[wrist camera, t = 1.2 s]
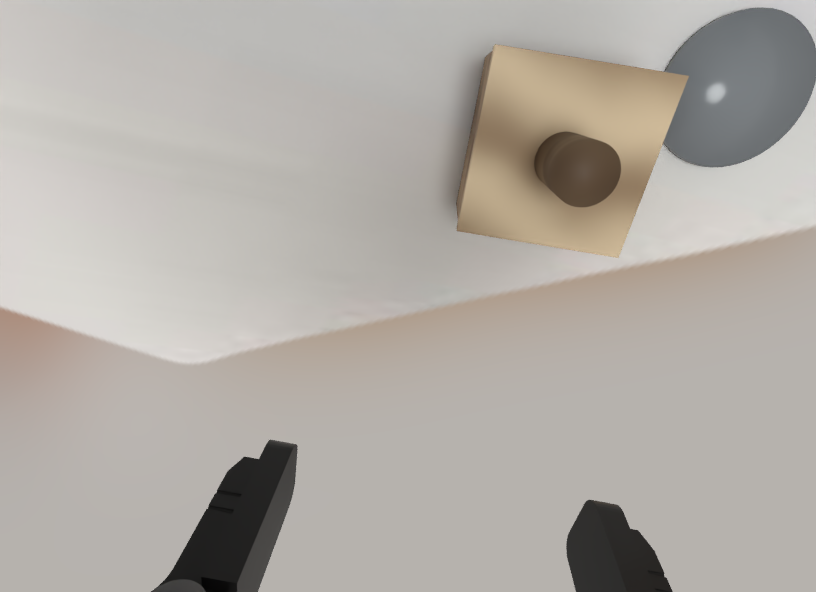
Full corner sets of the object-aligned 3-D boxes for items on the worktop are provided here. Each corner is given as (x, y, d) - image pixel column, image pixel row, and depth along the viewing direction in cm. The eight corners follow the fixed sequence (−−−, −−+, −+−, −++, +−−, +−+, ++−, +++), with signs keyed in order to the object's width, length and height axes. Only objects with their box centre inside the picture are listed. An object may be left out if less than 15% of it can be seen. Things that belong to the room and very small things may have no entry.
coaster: (690, -2, 25) (695, -4, 25) (841, 22, 25) (849, 20, 25) (633, 154, 29) (637, 155, 29) (764, 175, 29) (769, 177, 29)
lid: (491, 47, 23) (506, 33, 17) (671, 77, 23) (745, 72, 17) (456, 222, 27) (458, 256, 22) (608, 247, 27) (650, 289, 22)
